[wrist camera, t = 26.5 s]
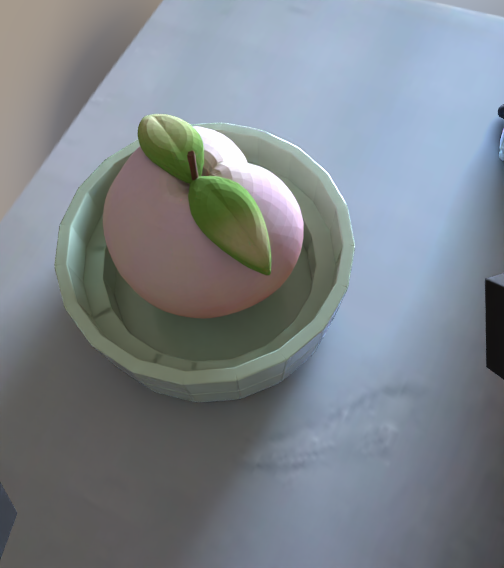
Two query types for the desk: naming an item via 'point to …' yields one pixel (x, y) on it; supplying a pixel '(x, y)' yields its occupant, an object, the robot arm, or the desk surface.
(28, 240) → the desk surface
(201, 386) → the bowl
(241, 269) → the decorative fruit
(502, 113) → the grey blocky piece
